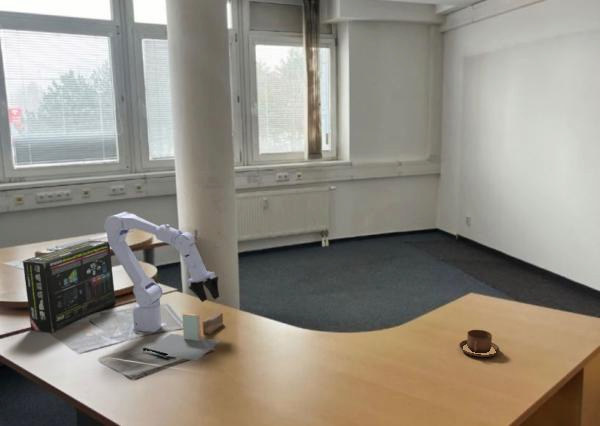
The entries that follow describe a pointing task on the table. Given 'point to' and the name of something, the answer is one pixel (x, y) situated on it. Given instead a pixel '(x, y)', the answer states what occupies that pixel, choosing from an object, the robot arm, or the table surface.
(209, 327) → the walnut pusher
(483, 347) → the cup and saucer
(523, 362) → the table surface
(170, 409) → the table surface
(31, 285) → the router box
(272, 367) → the table surface
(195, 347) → the mat
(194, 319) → the tile
